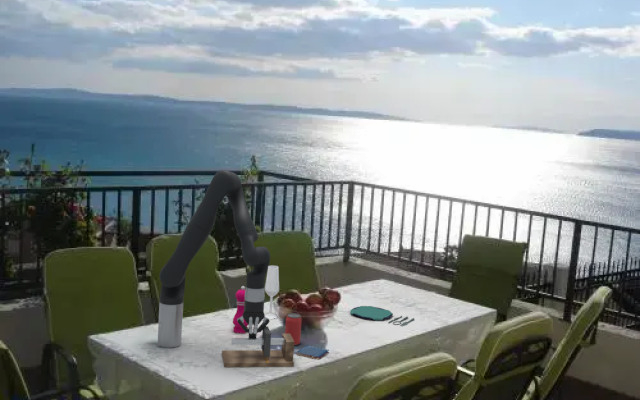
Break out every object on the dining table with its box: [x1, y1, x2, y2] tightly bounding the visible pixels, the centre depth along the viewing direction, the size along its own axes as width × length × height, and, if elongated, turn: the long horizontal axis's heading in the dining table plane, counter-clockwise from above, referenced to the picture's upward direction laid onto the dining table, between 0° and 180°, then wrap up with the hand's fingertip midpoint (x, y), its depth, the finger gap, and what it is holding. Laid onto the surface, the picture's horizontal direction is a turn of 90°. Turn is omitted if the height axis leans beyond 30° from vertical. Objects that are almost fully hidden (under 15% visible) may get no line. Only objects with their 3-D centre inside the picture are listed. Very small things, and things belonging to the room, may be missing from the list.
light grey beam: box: [231, 337, 285, 346], centre depth 261 cm, size 20×2×2 cm, turn 102°
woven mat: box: [295, 345, 330, 361], centre depth 274 cm, size 10×11×2 cm
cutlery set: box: [349, 305, 415, 327], centre depth 333 cm, size 20×30×2 cm, turn 58°
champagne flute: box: [264, 265, 280, 320], centre depth 320 cm, size 7×7×24 cm
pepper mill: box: [232, 285, 249, 334], centre depth 295 cm, size 7×7×20 cm
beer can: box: [284, 312, 303, 346], centre depth 284 cm, size 7×7×12 cm
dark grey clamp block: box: [261, 326, 272, 357], centre depth 262 cm, size 2×9×9 cm, turn 12°
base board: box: [221, 333, 295, 368], centre depth 261 cm, size 26×14×9 cm, turn 102°
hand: (252, 342), depth 264 cm, fingers closed
